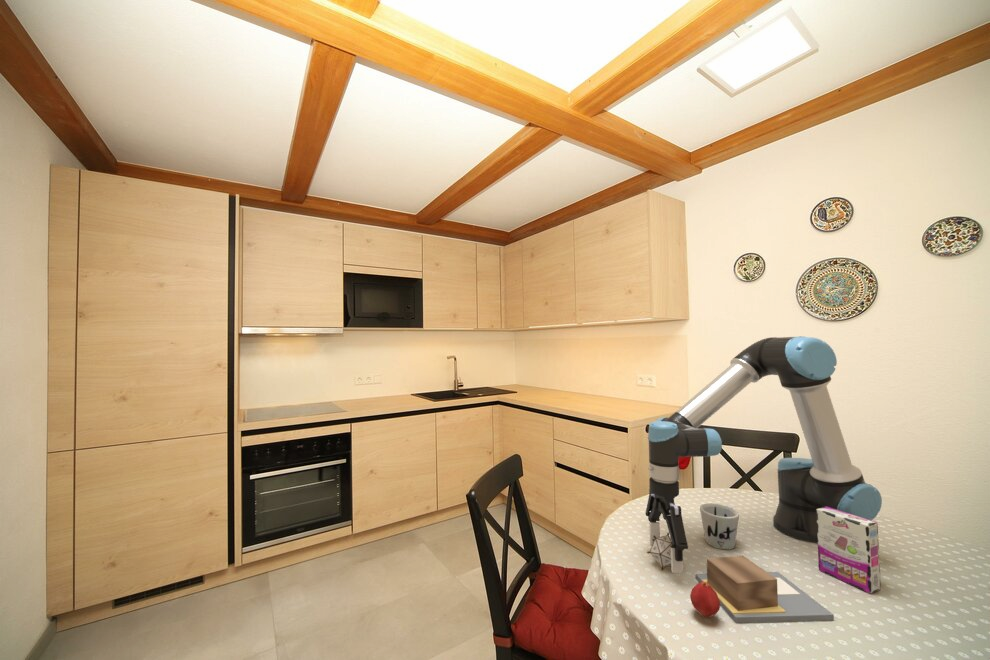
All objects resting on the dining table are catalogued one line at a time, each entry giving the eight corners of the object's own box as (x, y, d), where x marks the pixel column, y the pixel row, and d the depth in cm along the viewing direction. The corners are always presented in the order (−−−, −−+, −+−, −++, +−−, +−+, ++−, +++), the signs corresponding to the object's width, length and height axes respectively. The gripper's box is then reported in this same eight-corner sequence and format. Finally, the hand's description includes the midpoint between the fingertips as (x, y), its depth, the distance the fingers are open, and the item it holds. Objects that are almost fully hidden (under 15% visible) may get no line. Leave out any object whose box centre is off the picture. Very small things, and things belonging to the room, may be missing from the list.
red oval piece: (685, 608, 89) (684, 573, 89) (709, 607, 89) (708, 571, 89) (701, 627, 83) (700, 589, 83) (726, 625, 83) (725, 587, 84)
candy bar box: (882, 589, 95) (879, 522, 96) (871, 595, 93) (868, 526, 94) (828, 565, 105) (826, 505, 106) (817, 570, 103) (815, 508, 104)
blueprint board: (778, 576, 101) (777, 570, 101) (833, 620, 85) (833, 613, 85) (695, 578, 100) (695, 572, 100) (735, 623, 84) (735, 616, 84)
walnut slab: (743, 579, 97) (742, 555, 97) (777, 606, 87) (777, 579, 87) (707, 583, 95) (706, 558, 96) (738, 610, 86) (737, 583, 86)
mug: (702, 548, 114) (701, 514, 115) (697, 526, 128) (696, 495, 129) (743, 555, 111) (742, 520, 111) (733, 531, 124) (732, 500, 125)
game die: (673, 582, 104) (690, 565, 99) (642, 568, 106) (657, 549, 100) (672, 551, 111) (688, 533, 106) (643, 538, 113) (657, 520, 108)
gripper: (633, 465, 119) (634, 535, 118) (672, 496, 94) (673, 586, 93) (657, 464, 119) (658, 535, 118) (702, 496, 94) (704, 585, 94)
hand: (665, 557), depth 106 cm, fingers open, 12 cm apart
